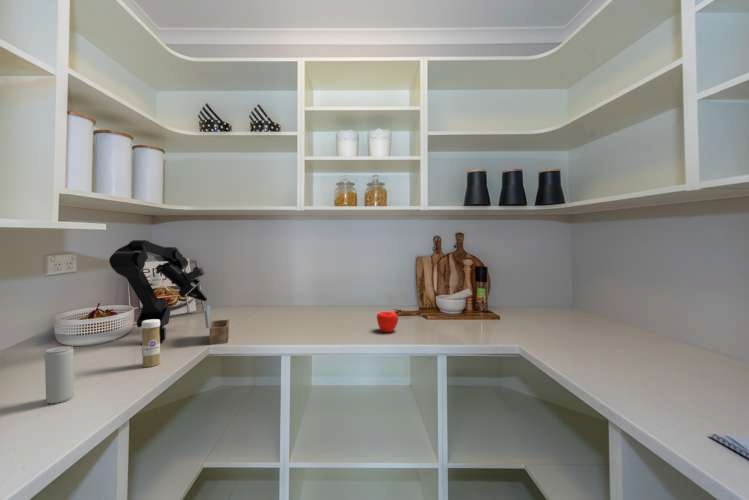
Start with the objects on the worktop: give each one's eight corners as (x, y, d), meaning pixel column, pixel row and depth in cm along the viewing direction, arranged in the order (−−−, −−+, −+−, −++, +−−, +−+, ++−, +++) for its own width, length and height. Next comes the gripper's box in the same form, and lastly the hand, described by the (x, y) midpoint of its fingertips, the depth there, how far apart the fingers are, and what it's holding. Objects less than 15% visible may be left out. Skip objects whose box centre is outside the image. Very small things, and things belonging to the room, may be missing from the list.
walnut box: (209, 344, 117) (209, 328, 117) (212, 335, 128) (212, 320, 128) (227, 342, 119) (227, 326, 119) (229, 334, 130) (228, 319, 130)
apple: (399, 329, 139) (399, 311, 139) (395, 334, 131) (396, 315, 131) (379, 327, 141) (379, 309, 141) (374, 333, 133) (374, 314, 133)
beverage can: (80, 394, 78) (79, 345, 78) (61, 404, 73) (60, 352, 73) (59, 395, 78) (58, 345, 78) (39, 405, 73) (38, 352, 73)
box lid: (208, 327, 116) (206, 328, 116) (211, 320, 128) (209, 320, 128) (206, 310, 116) (204, 310, 116) (209, 304, 128) (207, 304, 127)
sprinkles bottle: (146, 368, 94) (146, 322, 94) (139, 365, 97) (138, 321, 96) (163, 363, 98) (163, 319, 98) (155, 360, 101) (155, 318, 100)
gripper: (188, 262, 126) (219, 289, 130) (194, 259, 143) (222, 283, 147) (164, 283, 123) (197, 310, 127) (174, 278, 140) (202, 302, 144)
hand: (206, 300), depth 136 cm, fingers closed
